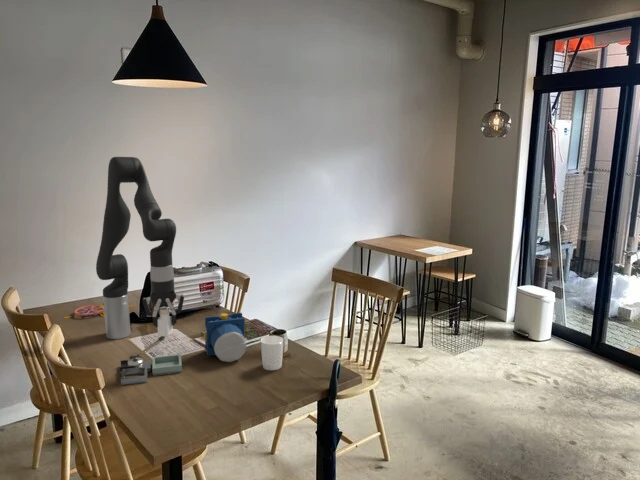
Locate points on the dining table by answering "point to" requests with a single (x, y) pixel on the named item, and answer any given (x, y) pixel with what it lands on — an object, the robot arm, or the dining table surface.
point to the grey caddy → (134, 370)
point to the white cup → (272, 352)
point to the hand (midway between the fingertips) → (164, 325)
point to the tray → (167, 364)
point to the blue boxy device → (225, 336)
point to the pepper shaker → (164, 322)
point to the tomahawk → (150, 346)
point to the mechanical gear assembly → (90, 311)
